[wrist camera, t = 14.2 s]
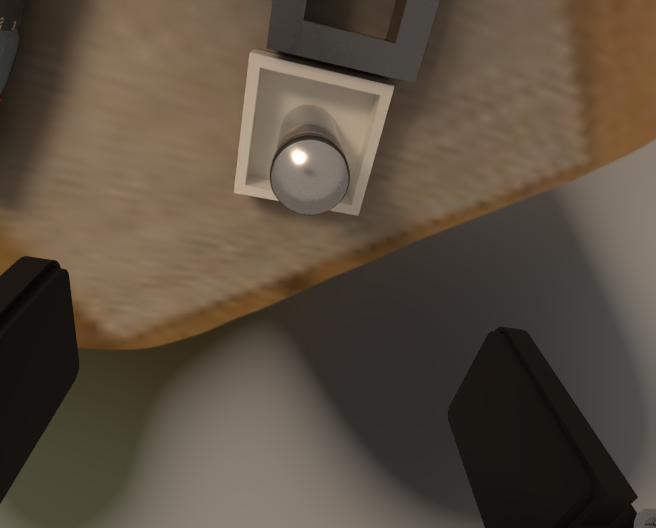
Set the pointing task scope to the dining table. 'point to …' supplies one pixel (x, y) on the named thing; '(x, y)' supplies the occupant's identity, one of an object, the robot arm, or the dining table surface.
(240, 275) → the dining table surface
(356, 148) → the tray
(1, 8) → the power drill
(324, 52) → the block
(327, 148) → the shiny metal canister
